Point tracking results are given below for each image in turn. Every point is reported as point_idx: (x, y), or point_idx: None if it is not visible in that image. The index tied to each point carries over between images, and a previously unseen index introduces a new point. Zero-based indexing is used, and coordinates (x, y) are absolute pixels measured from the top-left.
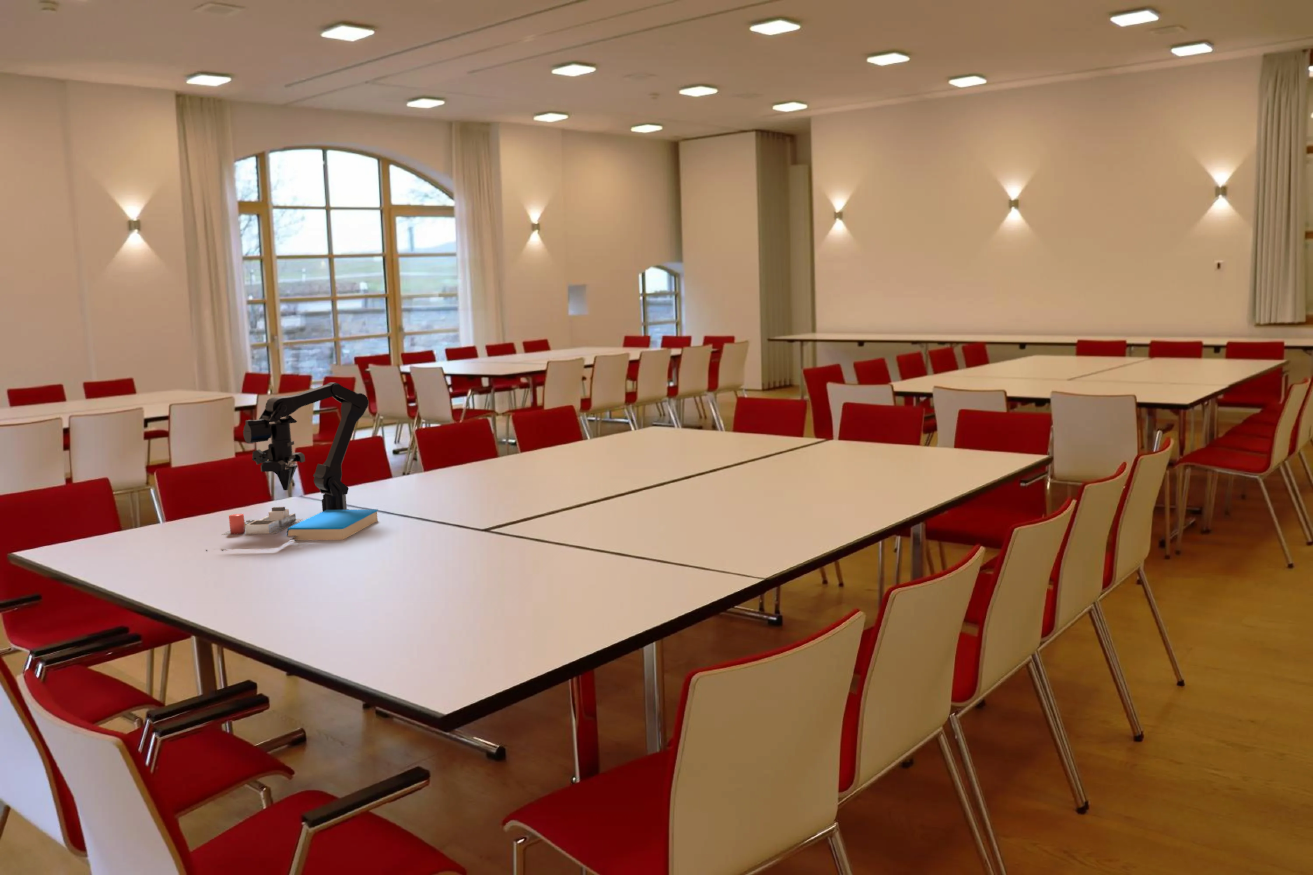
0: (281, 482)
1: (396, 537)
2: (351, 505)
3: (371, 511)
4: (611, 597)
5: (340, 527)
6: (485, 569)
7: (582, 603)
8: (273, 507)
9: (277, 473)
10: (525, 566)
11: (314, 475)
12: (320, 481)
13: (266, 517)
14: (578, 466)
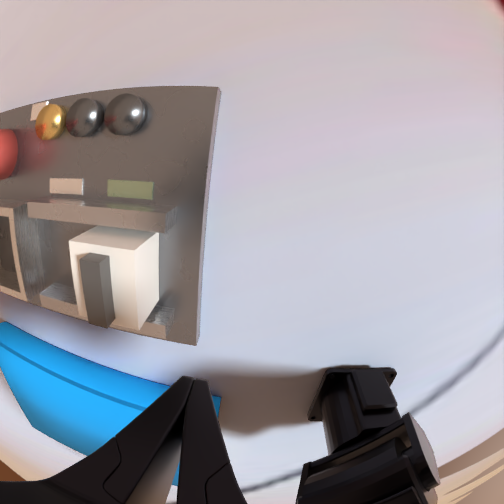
0: (133, 427)
1: (78, 459)
2: (448, 387)
3: (177, 484)
4: (14, 467)
5: (30, 423)
6: (20, 458)
7: (2, 456)
8: (89, 267)
9: (49, 493)
10: (37, 473)
11: (395, 499)
12: (328, 500)
13: (81, 220)
14: (474, 485)
